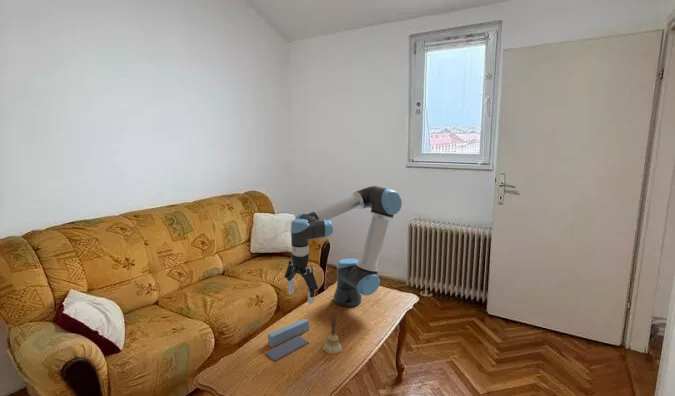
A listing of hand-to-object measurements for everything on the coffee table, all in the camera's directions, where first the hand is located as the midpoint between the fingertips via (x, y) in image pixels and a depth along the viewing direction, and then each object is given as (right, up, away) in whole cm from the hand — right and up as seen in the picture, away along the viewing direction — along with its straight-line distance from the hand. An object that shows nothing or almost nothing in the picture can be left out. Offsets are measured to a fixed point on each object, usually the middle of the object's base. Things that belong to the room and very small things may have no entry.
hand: (300, 298), depth 168 cm
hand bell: (+15, -19, -9) cm, 26 cm away
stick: (-5, -17, -1) cm, 18 cm away
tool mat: (-5, -19, -10) cm, 22 cm away
